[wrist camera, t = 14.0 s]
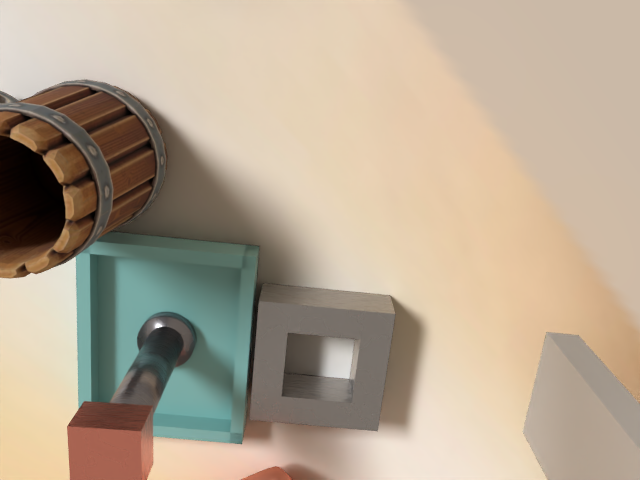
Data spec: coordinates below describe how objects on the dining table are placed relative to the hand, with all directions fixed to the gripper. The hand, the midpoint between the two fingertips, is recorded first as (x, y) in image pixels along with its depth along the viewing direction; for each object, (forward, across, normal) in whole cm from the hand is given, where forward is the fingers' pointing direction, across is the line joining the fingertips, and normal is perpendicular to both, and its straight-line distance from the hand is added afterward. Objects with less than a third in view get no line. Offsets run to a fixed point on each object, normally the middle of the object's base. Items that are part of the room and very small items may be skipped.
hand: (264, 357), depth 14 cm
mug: (+32, -17, -1) cm, 36 cm away
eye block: (+32, +3, -16) cm, 36 cm away
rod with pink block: (+31, -9, -16) cm, 36 cm away
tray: (+32, -9, -16) cm, 37 cm away
